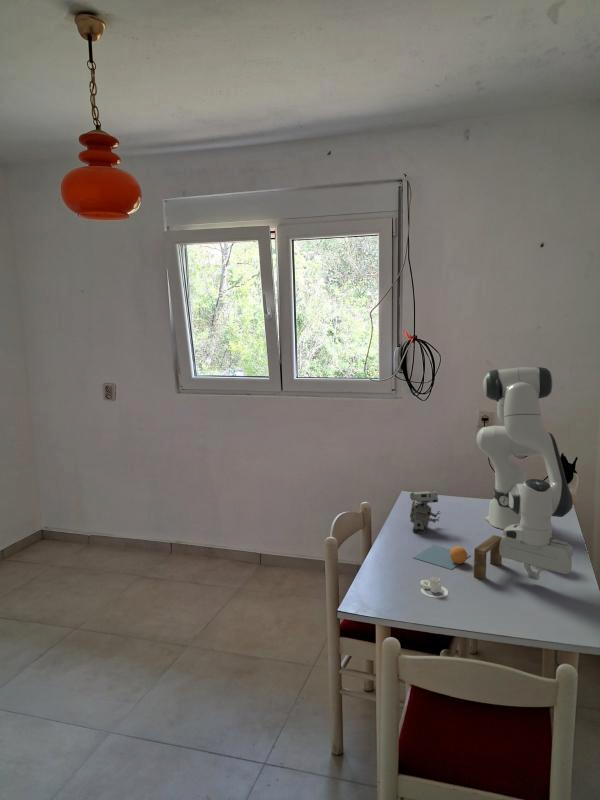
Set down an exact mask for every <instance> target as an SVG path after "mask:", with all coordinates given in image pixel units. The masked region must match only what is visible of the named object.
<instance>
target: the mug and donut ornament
mask: <svg viewBox="0 0 600 800" xmlns="http://www.w3.org/2000/svg"><path fill="white" fill-rule="evenodd" d="M419 585H420V586H421V588H420V592H421V593H422V595H424V596H426V597H429V598H435V599H442V598H445V597H447V596H448V594H449V590H448V589H447V588H446V587H445V586H442V584H441V579H440V578H439V577H436V576H432V577H429V580H428V579H422V580H421V581H420V583H419ZM425 590H430V592H431V593H433V594H437V593H439V592H440V591H441V590H442V591H444V593H443V594H442V595H432V594H431V595H430V594H428V593H427V592H426V591H425Z"/></svg>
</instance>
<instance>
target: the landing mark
mask: <svg viewBox="0 0 600 800" xmlns="http://www.w3.org/2000/svg"><path fill="white" fill-rule="evenodd" d="M451 550H452V549H450V548H447V547H442V546H440V545H435V544H432V545H431V546H429V547H427V548H426V549H424V550H423V551H421V552H420V553H417V554H416V555H415V556H413V559H414V560H418V561H422V562H424V563H428V564H431V565H435V566H437V565H438V566H437V567H440V568H445V569H447V570H450V571H451V570H452V571H453V570H454V569H455V568H456V567H457V566H459V565H460V564H457V563H455V562H453V561H452V560H451V558H450V551H451ZM469 557H471V554H468V553H467V559H468V558H469Z"/></svg>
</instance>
